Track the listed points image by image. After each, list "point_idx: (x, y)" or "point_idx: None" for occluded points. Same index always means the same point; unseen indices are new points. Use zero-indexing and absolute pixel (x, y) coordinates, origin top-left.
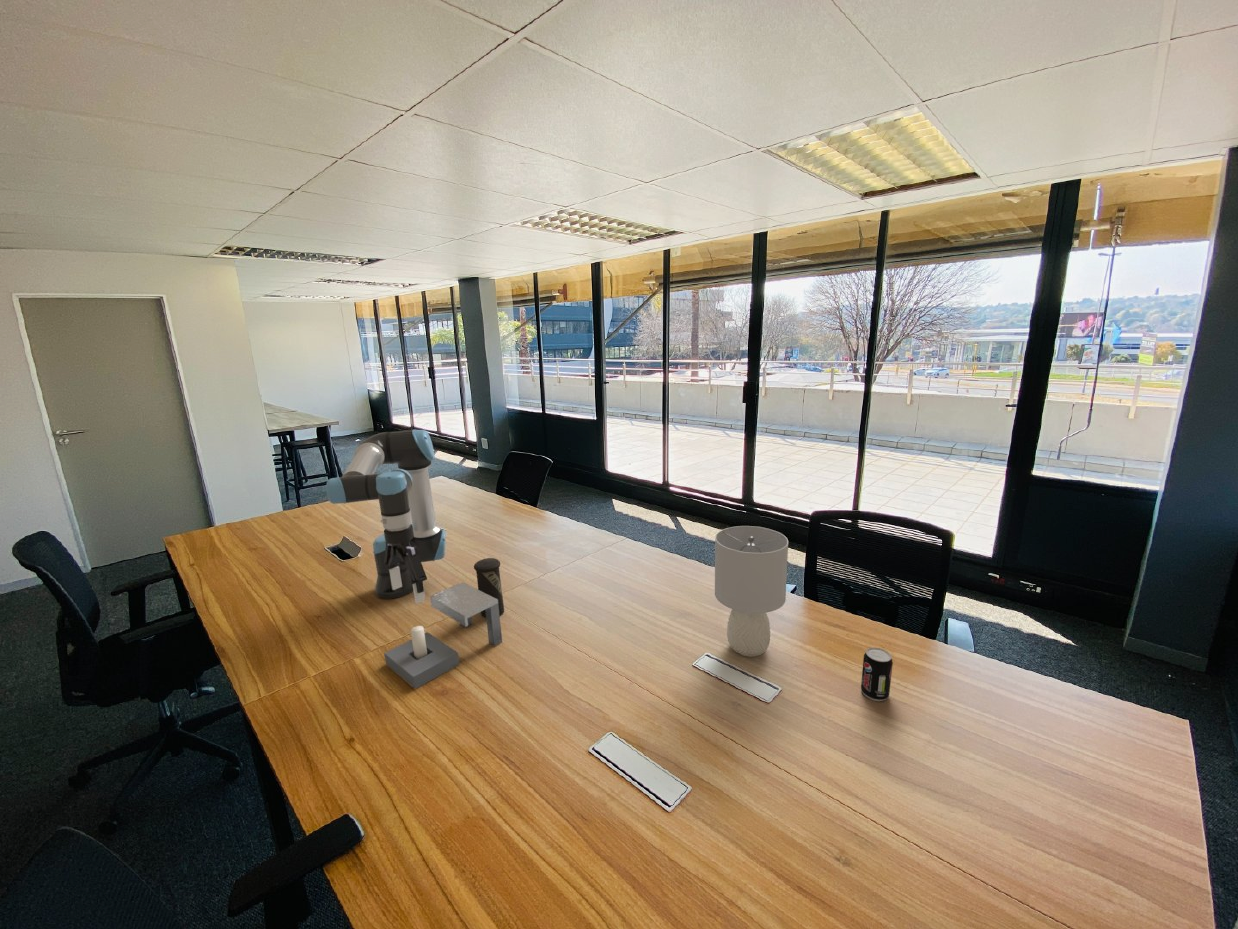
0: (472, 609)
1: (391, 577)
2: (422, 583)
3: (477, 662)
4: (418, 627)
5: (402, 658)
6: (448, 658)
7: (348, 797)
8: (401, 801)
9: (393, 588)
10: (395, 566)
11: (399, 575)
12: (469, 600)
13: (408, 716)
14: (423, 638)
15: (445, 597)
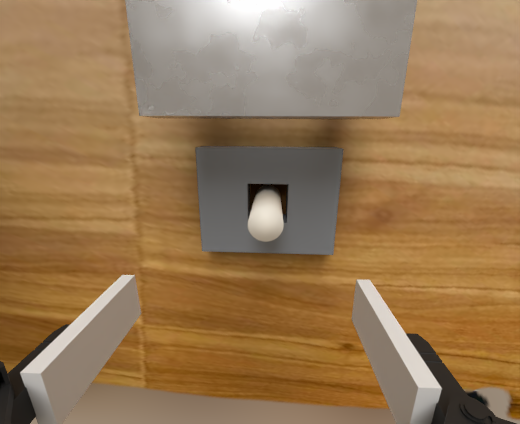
0: (389, 62)
1: (97, 373)
2: (462, 391)
3: None
4: (260, 218)
5: (254, 238)
6: (340, 175)
7: None
8: (507, 355)
9: (136, 318)
10: (21, 396)
11: (93, 326)
12: (312, 21)
13: (379, 281)
14: (281, 210)
15: (201, 79)
